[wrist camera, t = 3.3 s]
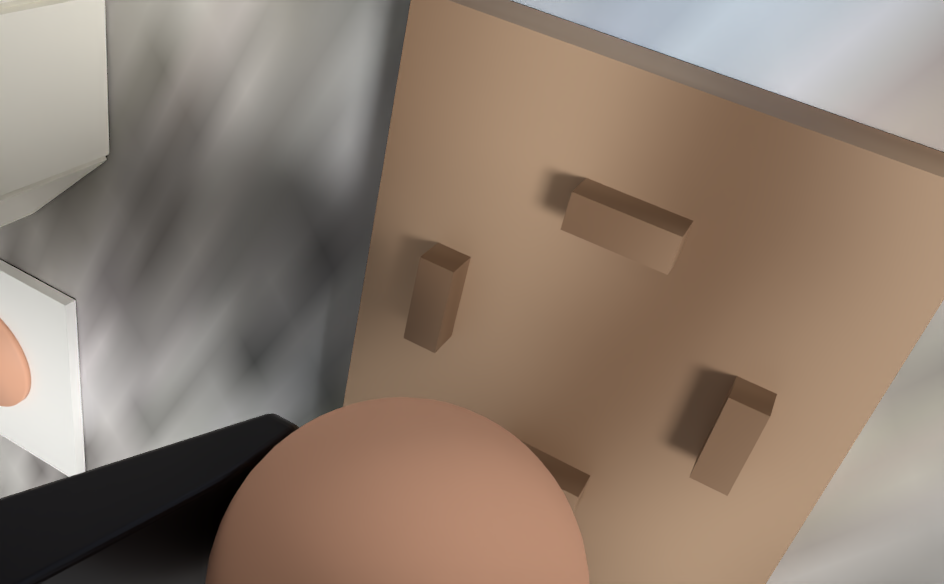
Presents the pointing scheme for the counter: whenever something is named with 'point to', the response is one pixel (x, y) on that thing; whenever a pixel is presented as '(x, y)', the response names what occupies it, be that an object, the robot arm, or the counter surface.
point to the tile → (40, 371)
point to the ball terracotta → (399, 505)
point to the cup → (50, 100)
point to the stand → (643, 280)
